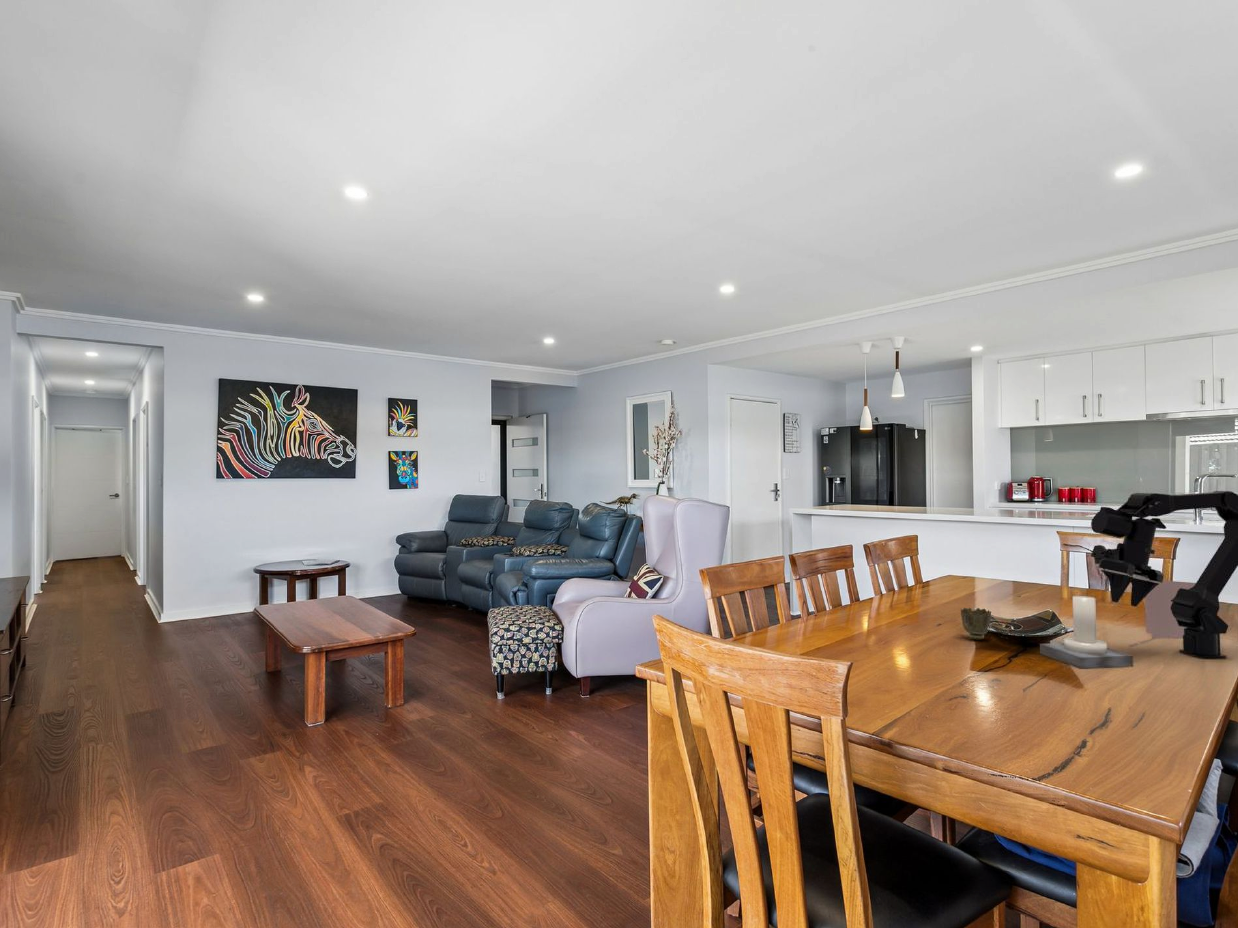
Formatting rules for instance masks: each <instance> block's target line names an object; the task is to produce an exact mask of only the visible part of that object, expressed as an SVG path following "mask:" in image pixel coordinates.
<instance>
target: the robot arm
mask: <svg viewBox="0 0 1238 928" xmlns="http://www.w3.org/2000/svg"><path fill="white" fill-rule="evenodd" d="M1212 508H1213V509H1215V511H1216V512H1217V515H1218V516H1219V517H1220V518H1221V519H1222V520H1223V521H1224V522H1225V523H1224V525H1223V534H1224V535H1223V536H1224V538H1223V540H1222V542H1221V543H1220V545H1219V546H1218V548H1217V550H1216V551H1215V553H1214V554H1213V555H1212V558H1211V559H1210V560H1209V562H1208V563H1207V565H1206V566H1205V568H1204V570H1203V571H1202V573H1201V574H1200V576H1199V577H1198V579H1197V581H1195V583H1196V584H1195V585H1194V586H1193V587H1192V588H1190V589H1183V588H1180V589H1179V590H1178V591H1177V594H1176V596H1175V597H1174V598H1173V599H1172V600H1171V602H1173V603H1172V605H1171V608H1170V609H1171V611H1172V614H1173V616H1174V617H1175V618H1176V621H1177V623H1178V626H1181V627H1186V628H1184V635H1183V638H1182V649H1178V652H1179V653H1182V654H1186V655H1190V656H1192V657H1197V658H1200V659H1222V658H1223V659H1226V658H1227V655H1226V654H1223V653H1222V654H1221V635H1223V634H1224V635H1226V634H1227V631H1228V629H1229V624H1228V623H1227V622H1225V620H1223V618H1221V617H1220V616H1219V615H1218V613H1219V612H1220V599H1219V596H1220V594H1221V593H1222V592H1223V590H1224V589H1225V587H1226V585H1227V584H1228V582H1229V580H1230V579H1231V577H1232V575H1233V574H1234V573H1235V571H1236V569H1237V568H1238V494H1237V493H1236V492H1234V491H1232V490H1231V491H1230V490H1215V491H1212V492H1208V491H1207V492H1198V493H1182V494H1181V493H1180V494H1167V493H1156V492H1155V493H1153V492H1134V493H1132V494H1130V496H1129V497H1128V499H1127V501H1125V503H1123V504H1122V505H1121V506H1119V508H1117V509H1114V508H1111V507H1108V506H1100V509H1099V511H1097V512H1096V513H1095V514H1094V516H1093V518H1092V519H1091V522H1090V526H1091V527H1090V528H1091V530H1092V531H1093V533H1095V534H1098V535H1104V536H1108V537H1113V538H1116V539H1117V538H1118V539H1122V538H1123V541H1122V542H1118V544H1116V548H1106V547H1105V546H1104V545H1101V544H1098V545H1094V546H1093V549H1092V550H1091V554H1090V557H1091V558H1093V560H1094V564H1095V565H1098V568H1099V569H1100V571H1101V572H1102V573H1103V574H1104V575H1105V576H1106V578H1107V579H1108V583H1109V590H1110V598H1111V602H1113V603H1118V602H1119V601H1120V600H1121V598H1122V597H1123V595H1124V593H1125V592H1126V590H1127V588H1128V587H1129V585H1130V584H1131V594H1130V606H1132V607H1135V608H1136V607H1138V606H1139V604H1140V603H1141V602H1142V601H1143V600H1145V597H1146V596H1147V595H1148V594H1149V593H1150V592H1151V591H1152V590H1153V589H1154V588H1155V587H1156V586H1157V585H1159V583H1155V582H1153V581H1156V582H1161V583H1162V582H1163V581H1164V578H1165V576H1164V574H1163V573H1162V571H1160V570H1158V569H1154V568H1152V566H1149V562H1150V557H1151V555H1155V552H1156V549H1155V550H1154V549H1153V543H1154V540H1155V535H1156V532H1157V531H1156V530H1157V529H1158V530H1159V529H1161V530H1162V529H1163V530H1166V529H1167V526H1166V525H1165V524H1164V523H1163V522H1162V520H1161V519H1160V518H1158V517H1161V516H1165V515H1166V516H1167V515H1170V514H1172V513H1173V512H1174V513H1175V512H1177V511H1182V510H1183V511H1185V510H1201V509H1212ZM1148 517H1152V518H1151V519H1148ZM1133 518H1135V519H1133Z"/></svg>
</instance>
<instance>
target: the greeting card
mask: <svg viewBox="0 0 1238 928" xmlns="http://www.w3.org/2000/svg"><path fill="white" fill-rule="evenodd" d="M1153 582H1155V583H1159V585H1157V586H1156V587H1155V588H1154V589H1153V590H1152V591H1151V592H1150V593H1149V594H1148V595H1147V596H1146V597H1145V598H1144V609H1145V611H1144V612H1145V614H1144V615H1145V633H1146V634H1148V633H1149V634H1152V638H1153V637H1154V638H1153V639H1183V635H1184V628H1186V627H1181V626H1178V623H1177V621H1176V618H1175V617H1174V616H1173V614H1172V611H1171V609H1170V608H1171V605H1172V603H1173V602H1171V600H1172V599H1173V598H1174V597H1175V596H1176V594H1177V591H1178V590H1179V589H1180V588H1183V589H1190V588H1192V587H1193V586H1194V585H1195V584H1196V582H1190V581H1187V582H1186V581H1176V580H1163V582H1162V583H1161V582H1156V581H1153Z"/></svg>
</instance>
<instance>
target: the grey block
mask: <svg viewBox="0 0 1238 928" xmlns="http://www.w3.org/2000/svg"><path fill="white" fill-rule="evenodd" d="M1039 653H1040V655H1042V656H1044V657H1045V656H1046V657H1048V658H1051V659H1052V660H1055V661H1059V662H1062V663H1064V664H1067V665H1070V666H1072V667H1076V668H1079V669H1104V668H1105V669H1107V668H1124V667H1125V668H1126V667H1127V668H1128V667H1129V666H1132V667H1134V657H1133V655H1132V654H1129V653H1125V652H1122V651H1119V650H1115V649H1113V648H1110V647H1107V653H1105V654H1086V653H1079V652H1074V651H1070V650H1067V649H1065V648H1064V642H1059V643H1058V642H1057V643H1056V642H1055V643H1040V644H1039Z"/></svg>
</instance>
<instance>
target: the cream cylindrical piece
mask: <svg viewBox="0 0 1238 928" xmlns="http://www.w3.org/2000/svg"><path fill="white" fill-rule="evenodd" d="M1096 609H1097V607H1096V597H1093V596H1088V595H1087V596H1086V595H1073V596H1072V616H1073V617H1072V619H1073V621H1072V622H1073V636H1071V637H1070V636H1069V637H1064V638H1063V643H1064V648H1065V649H1067V650H1070V651H1074V652H1079V653H1086V654H1105V653H1107V648H1108V643H1107V642H1106V641H1104V640H1100V639H1097V612H1096V611H1097V610H1096Z"/></svg>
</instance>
